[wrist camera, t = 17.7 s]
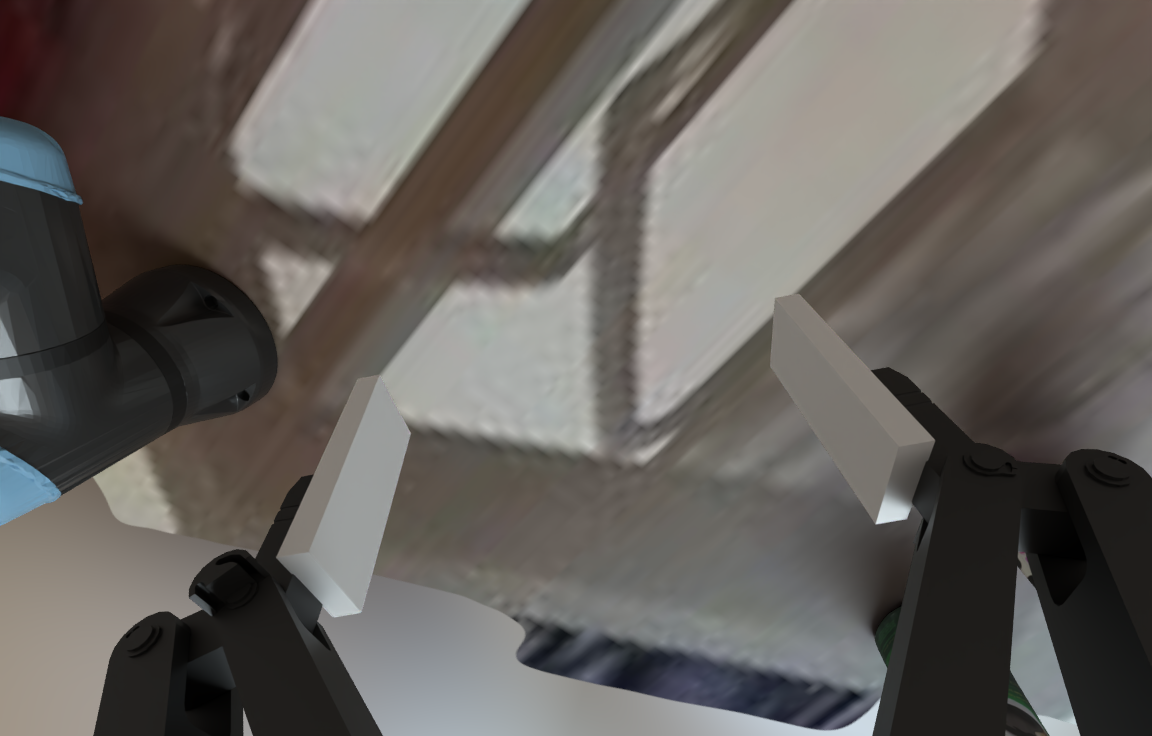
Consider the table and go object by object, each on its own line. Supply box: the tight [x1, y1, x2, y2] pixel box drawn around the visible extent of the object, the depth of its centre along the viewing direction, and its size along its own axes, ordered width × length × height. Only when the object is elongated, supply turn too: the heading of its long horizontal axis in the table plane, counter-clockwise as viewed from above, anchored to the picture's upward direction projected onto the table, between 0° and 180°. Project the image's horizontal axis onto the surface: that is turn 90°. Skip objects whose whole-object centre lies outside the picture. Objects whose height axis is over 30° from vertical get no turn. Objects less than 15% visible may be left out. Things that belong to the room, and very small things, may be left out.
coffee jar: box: [875, 607, 1049, 736], centre depth 42 cm, size 10×8×19 cm
